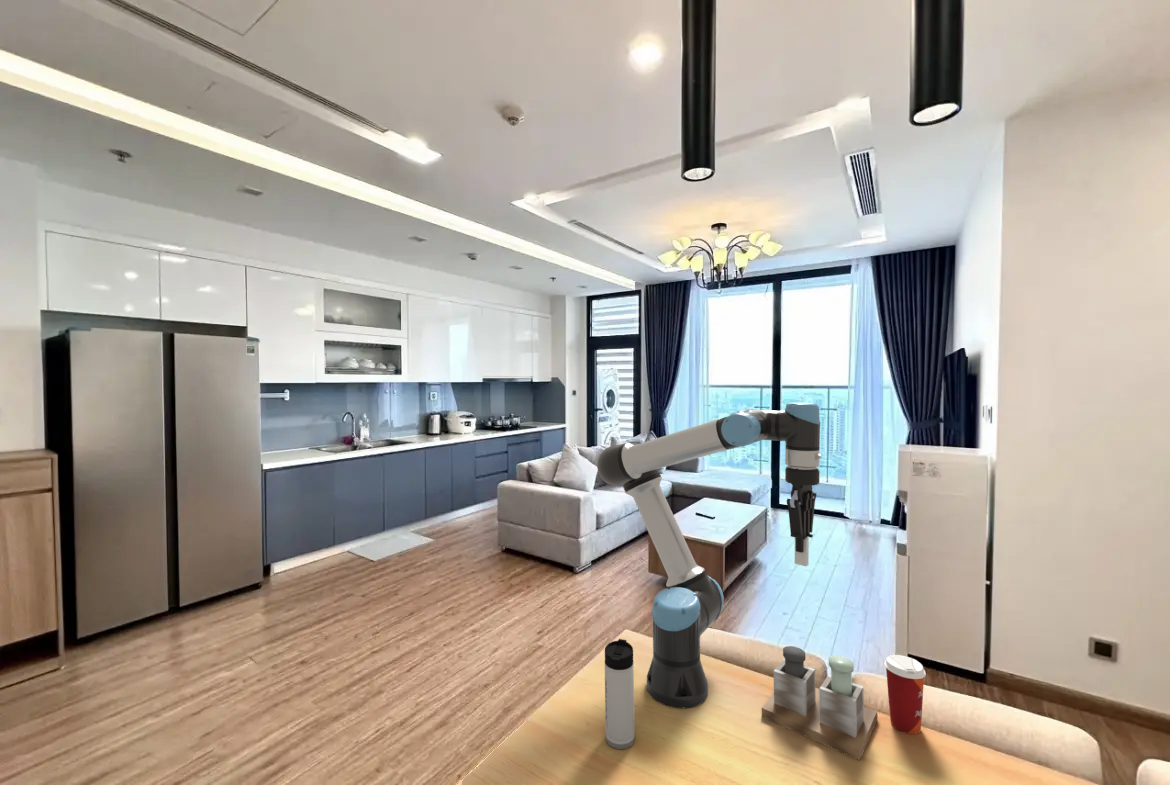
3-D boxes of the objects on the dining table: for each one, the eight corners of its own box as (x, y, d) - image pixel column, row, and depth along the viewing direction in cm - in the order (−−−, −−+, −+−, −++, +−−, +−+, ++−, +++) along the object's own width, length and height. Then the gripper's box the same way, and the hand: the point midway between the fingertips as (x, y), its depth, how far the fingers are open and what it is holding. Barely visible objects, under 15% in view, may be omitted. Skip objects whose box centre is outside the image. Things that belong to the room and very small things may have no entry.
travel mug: (637, 731, 106) (636, 641, 106) (630, 752, 100) (629, 656, 100) (610, 725, 108) (609, 636, 108) (601, 746, 102) (600, 651, 102)
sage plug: (826, 713, 105) (825, 661, 105) (833, 702, 109) (832, 652, 109) (851, 723, 102) (850, 670, 102) (856, 711, 105) (856, 660, 105)
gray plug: (780, 700, 112) (779, 652, 112) (787, 690, 115) (787, 644, 115) (802, 709, 109) (801, 659, 109) (808, 698, 112) (808, 651, 112)
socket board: (761, 716, 110) (761, 675, 110) (787, 684, 122) (786, 647, 122) (859, 760, 97) (858, 713, 97) (877, 719, 109) (876, 677, 109)
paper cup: (933, 740, 102) (932, 674, 102) (893, 735, 104) (892, 670, 104) (916, 715, 110) (915, 654, 110) (879, 711, 111) (878, 651, 111)
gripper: (808, 472, 108) (807, 576, 109) (828, 465, 118) (827, 561, 118) (775, 468, 114) (774, 567, 114) (796, 462, 123) (796, 553, 123)
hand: (801, 564), depth 116 cm, fingers closed
